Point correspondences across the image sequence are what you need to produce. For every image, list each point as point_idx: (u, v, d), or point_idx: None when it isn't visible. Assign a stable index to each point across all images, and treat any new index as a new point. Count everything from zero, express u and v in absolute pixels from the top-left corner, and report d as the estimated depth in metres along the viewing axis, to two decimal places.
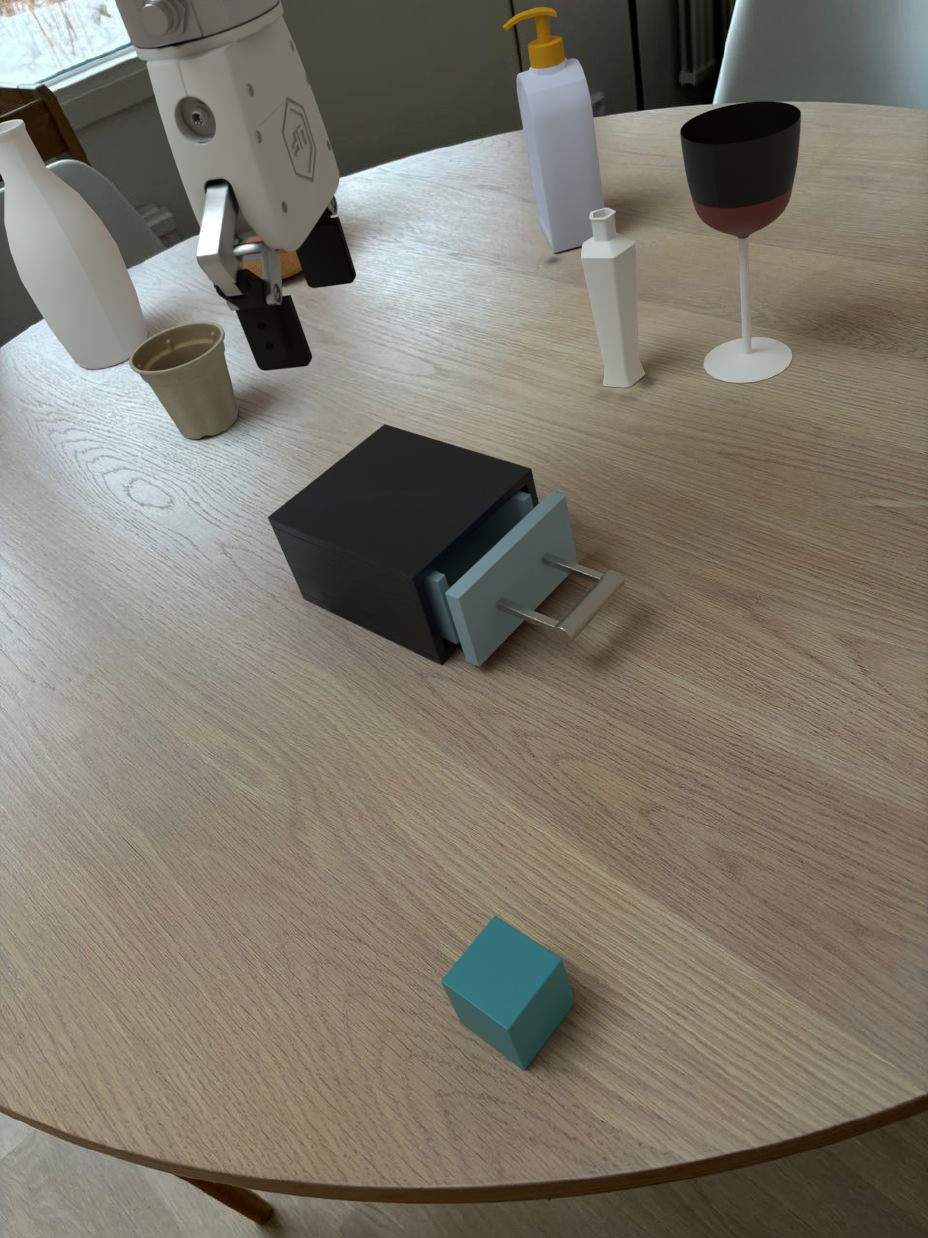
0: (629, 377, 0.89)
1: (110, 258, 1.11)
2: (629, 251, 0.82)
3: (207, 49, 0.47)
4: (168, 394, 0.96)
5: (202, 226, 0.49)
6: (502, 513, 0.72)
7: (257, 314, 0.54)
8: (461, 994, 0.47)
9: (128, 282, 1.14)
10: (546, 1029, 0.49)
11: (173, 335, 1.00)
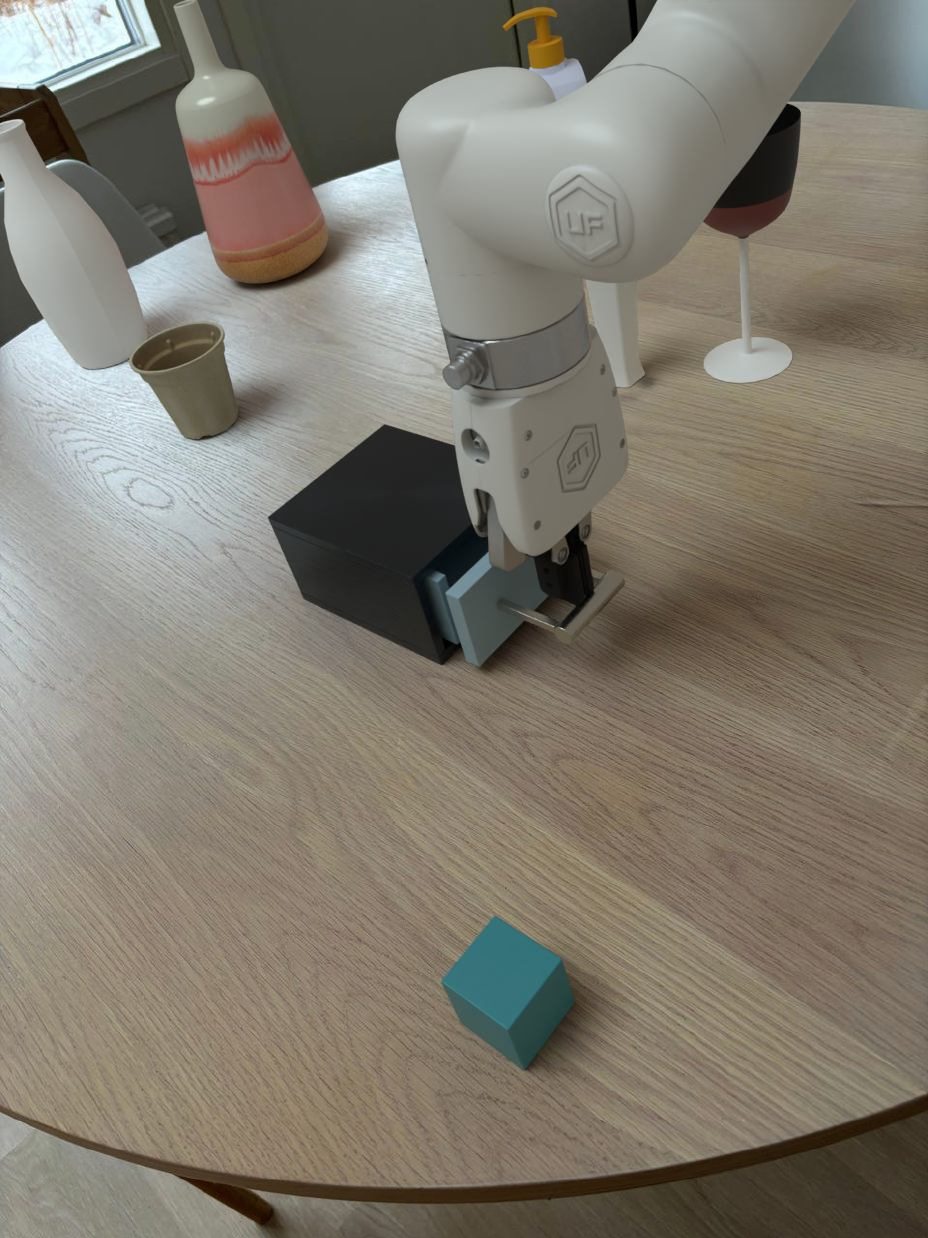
0: (629, 377, 0.89)
1: (110, 258, 1.11)
2: None
3: (498, 398, 0.52)
4: (168, 394, 0.96)
5: (489, 538, 0.58)
6: None
7: (544, 562, 0.62)
8: (461, 994, 0.47)
9: (128, 282, 1.14)
10: (546, 1029, 0.49)
11: (173, 335, 1.00)
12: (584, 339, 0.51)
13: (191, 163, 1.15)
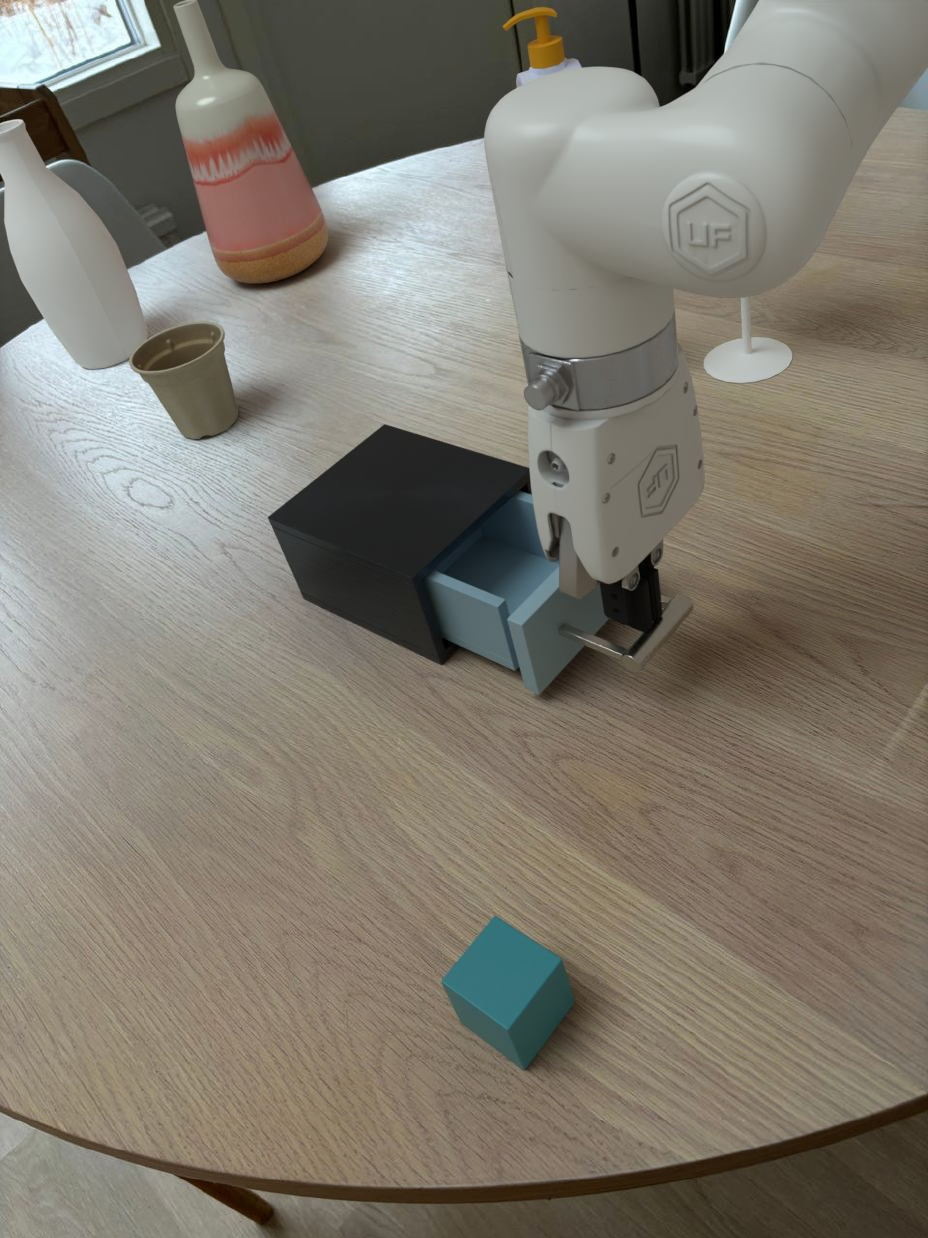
0: None
1: (110, 258, 1.11)
2: None
3: (581, 419, 0.48)
4: (168, 394, 0.96)
5: (560, 564, 0.55)
6: None
7: (612, 587, 0.59)
8: (461, 994, 0.47)
9: (128, 282, 1.14)
10: (546, 1029, 0.49)
11: (173, 335, 1.00)
12: (673, 357, 0.48)
13: (191, 163, 1.15)
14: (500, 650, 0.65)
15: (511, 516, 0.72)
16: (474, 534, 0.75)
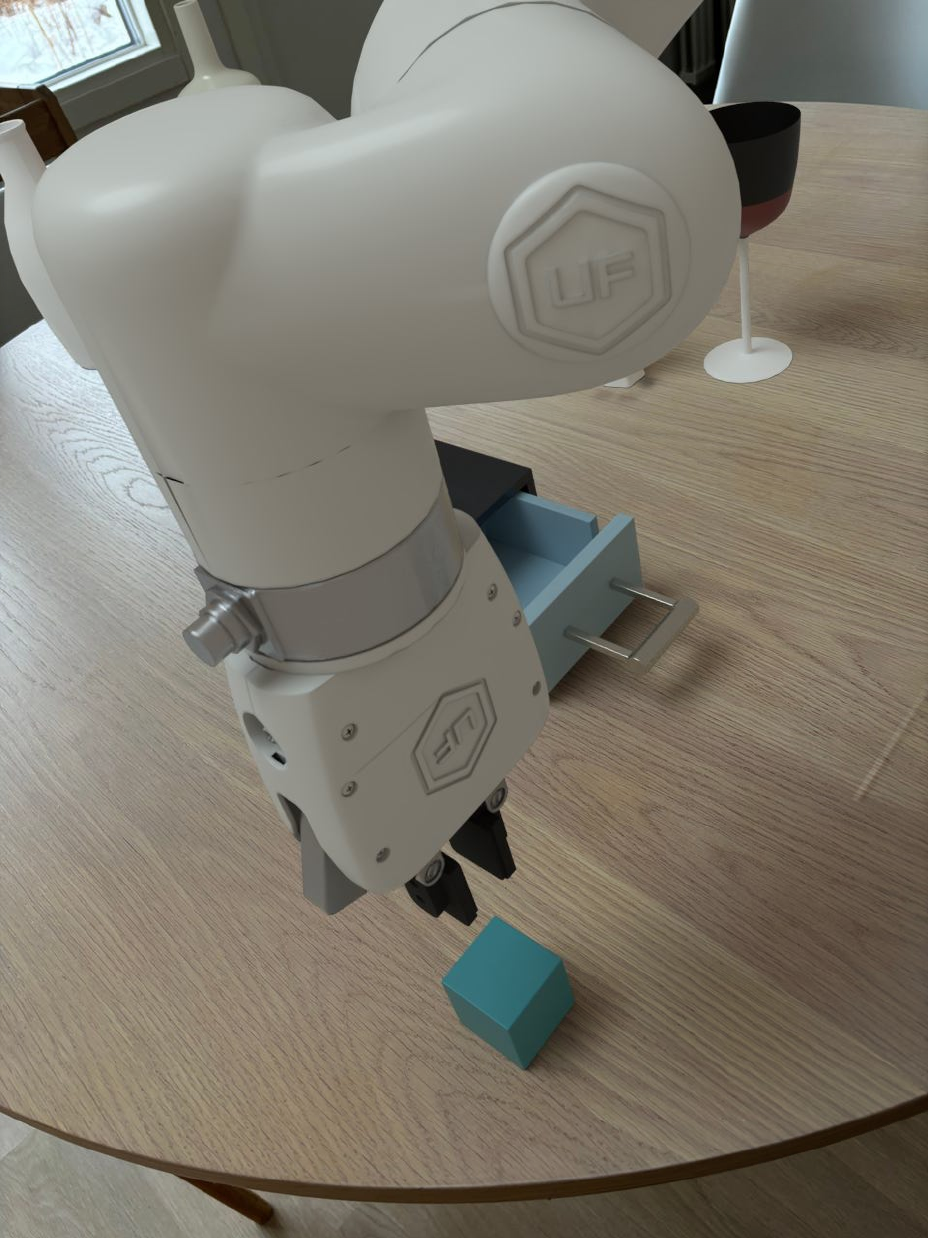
0: (629, 377, 0.89)
1: None
2: None
3: (292, 673, 0.29)
4: None
5: (303, 861, 0.35)
6: (564, 534, 0.69)
7: None
8: (461, 994, 0.47)
9: None
10: (546, 1029, 0.49)
11: None
12: (444, 569, 0.29)
13: None
14: None
15: (516, 518, 0.71)
16: None
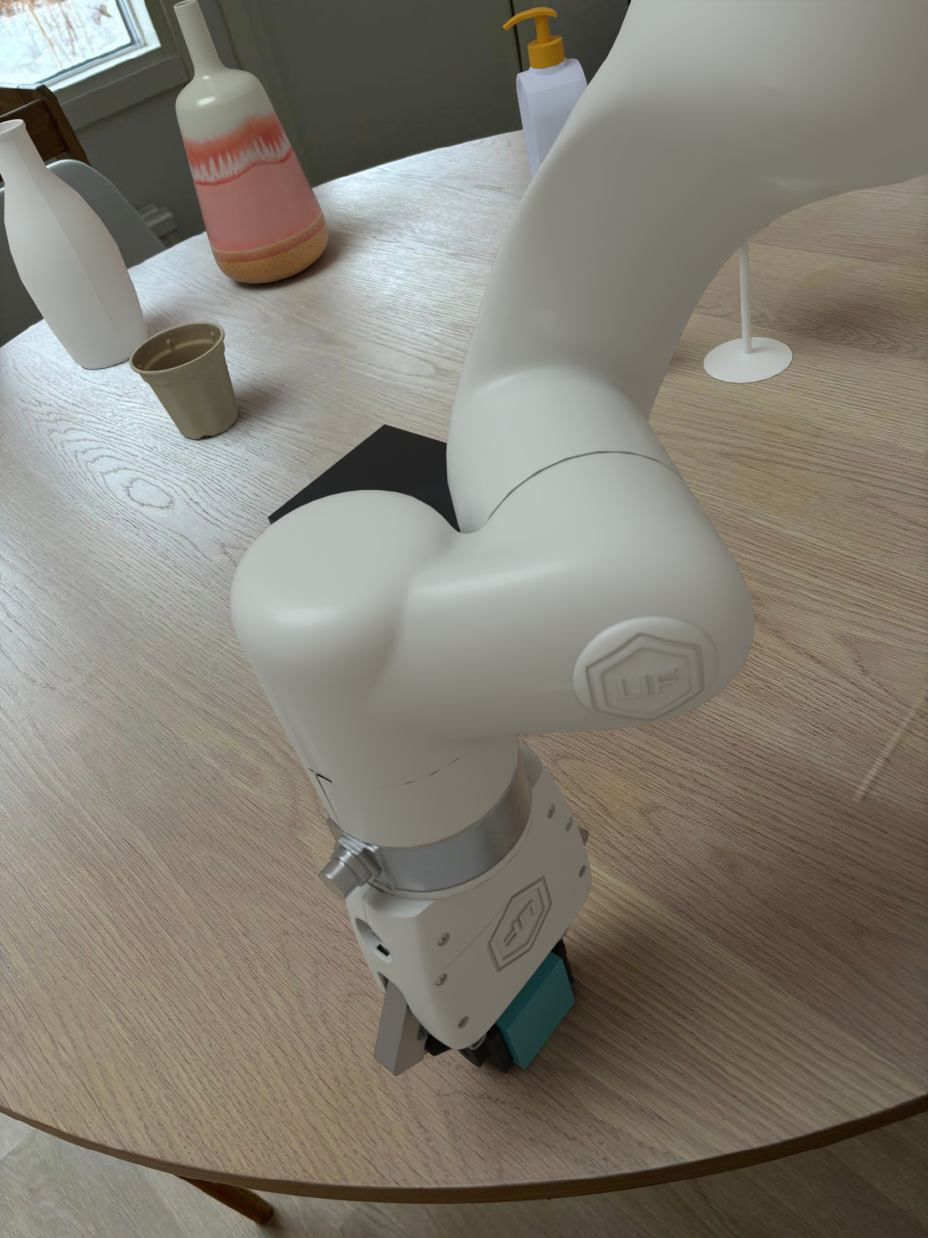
0: None
1: (110, 258, 1.11)
2: None
3: (400, 897, 0.37)
4: (168, 394, 0.96)
5: (381, 1026, 0.42)
6: None
7: None
8: None
9: (128, 282, 1.14)
10: (546, 1029, 0.49)
11: (173, 335, 1.00)
12: (519, 816, 0.37)
13: (191, 163, 1.15)
14: None
15: None
16: None
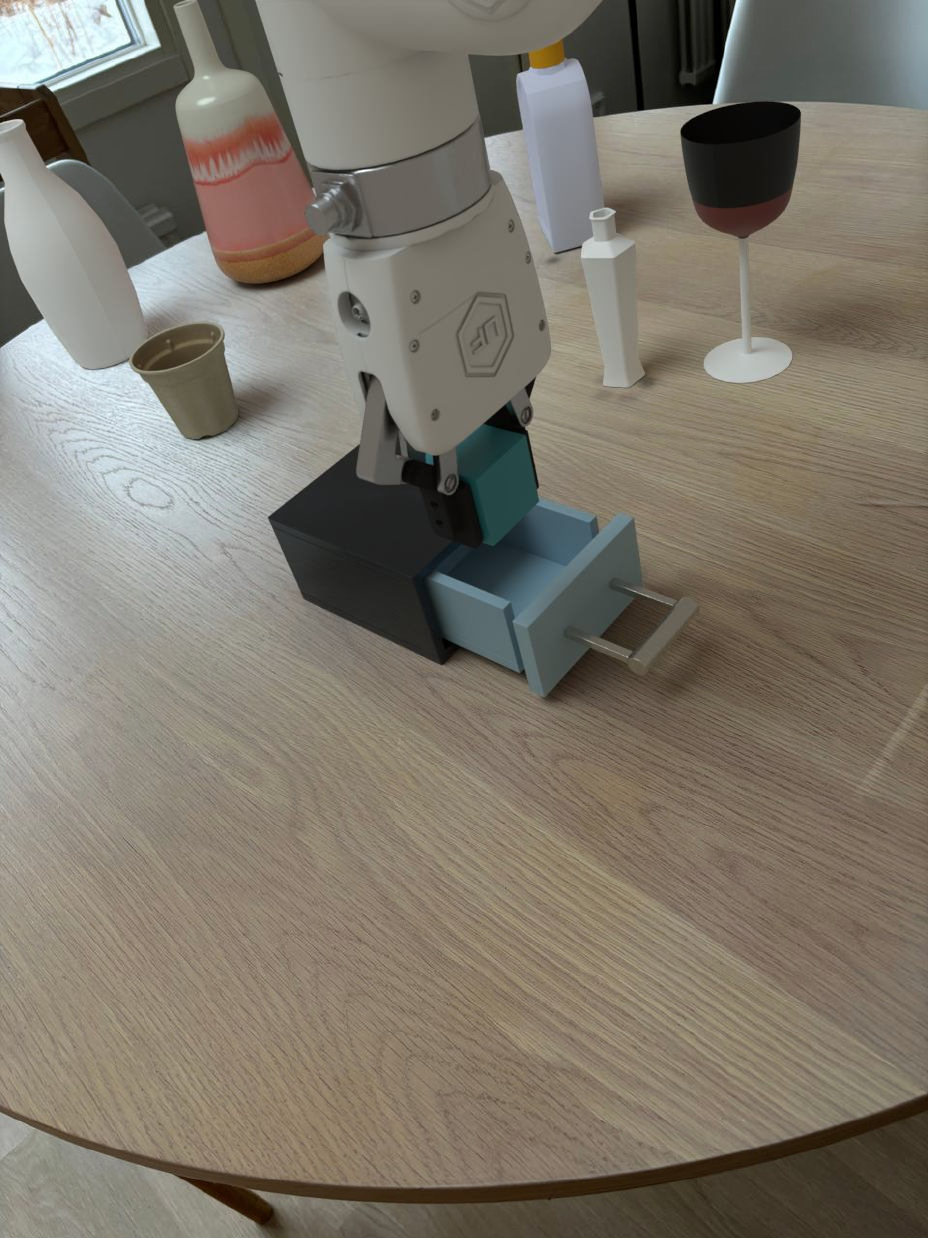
0: (629, 377, 0.89)
1: (110, 258, 1.11)
2: (629, 251, 0.82)
3: (377, 249, 0.42)
4: (168, 394, 0.96)
5: (362, 438, 0.47)
6: (564, 534, 0.69)
7: (430, 494, 0.52)
8: None
9: (128, 282, 1.14)
10: (512, 511, 0.54)
11: (173, 335, 1.00)
12: (481, 175, 0.42)
13: (191, 163, 1.15)
14: (505, 652, 0.65)
15: None
16: None
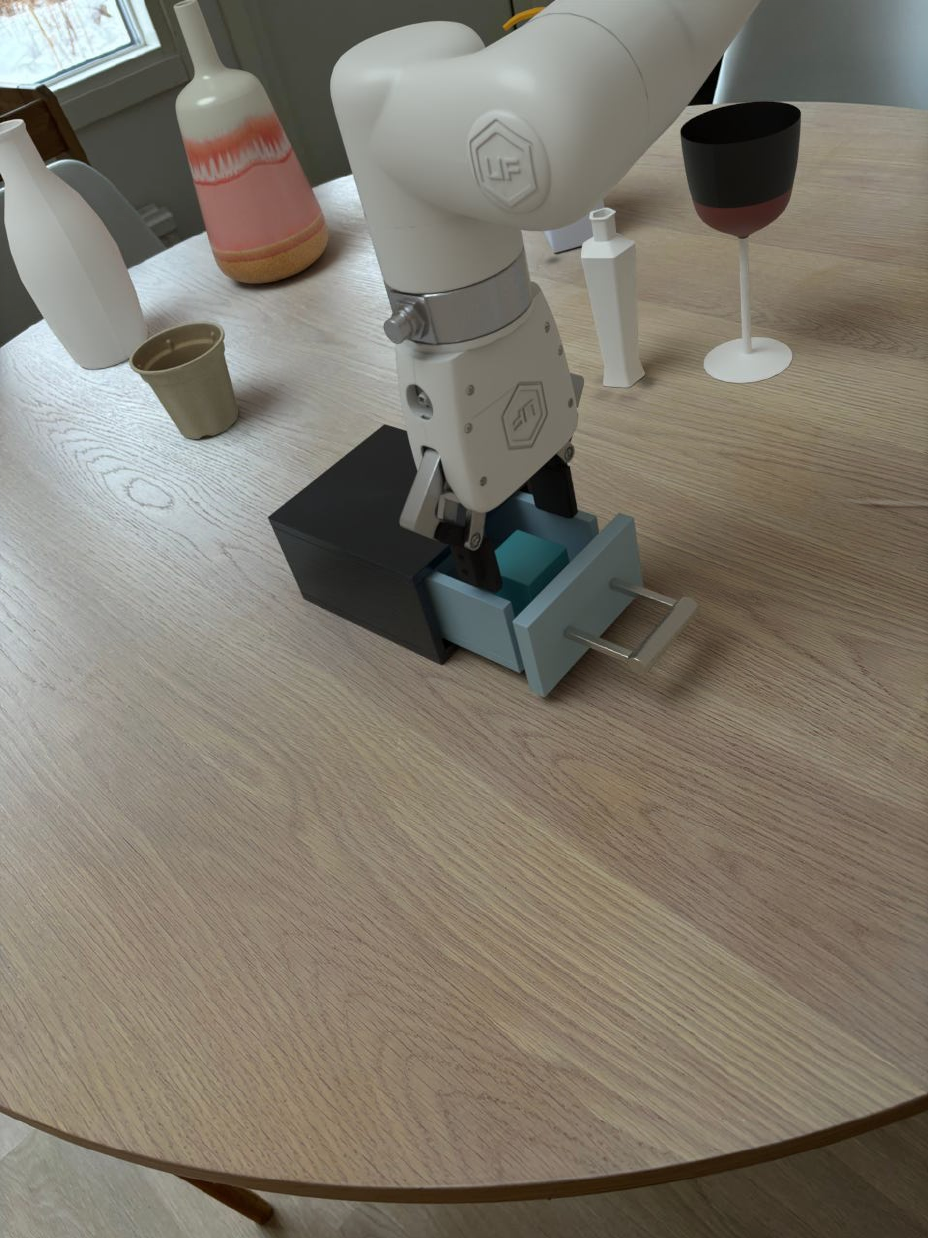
0: (629, 377, 0.89)
1: (110, 258, 1.11)
2: (629, 251, 0.82)
3: (440, 353, 0.52)
4: (168, 394, 0.96)
5: (411, 492, 0.57)
6: (564, 534, 0.69)
7: (458, 548, 0.61)
8: None
9: (128, 282, 1.14)
10: None
11: (173, 335, 1.00)
12: (524, 294, 0.52)
13: (191, 163, 1.15)
14: (505, 652, 0.65)
15: (516, 518, 0.71)
16: None
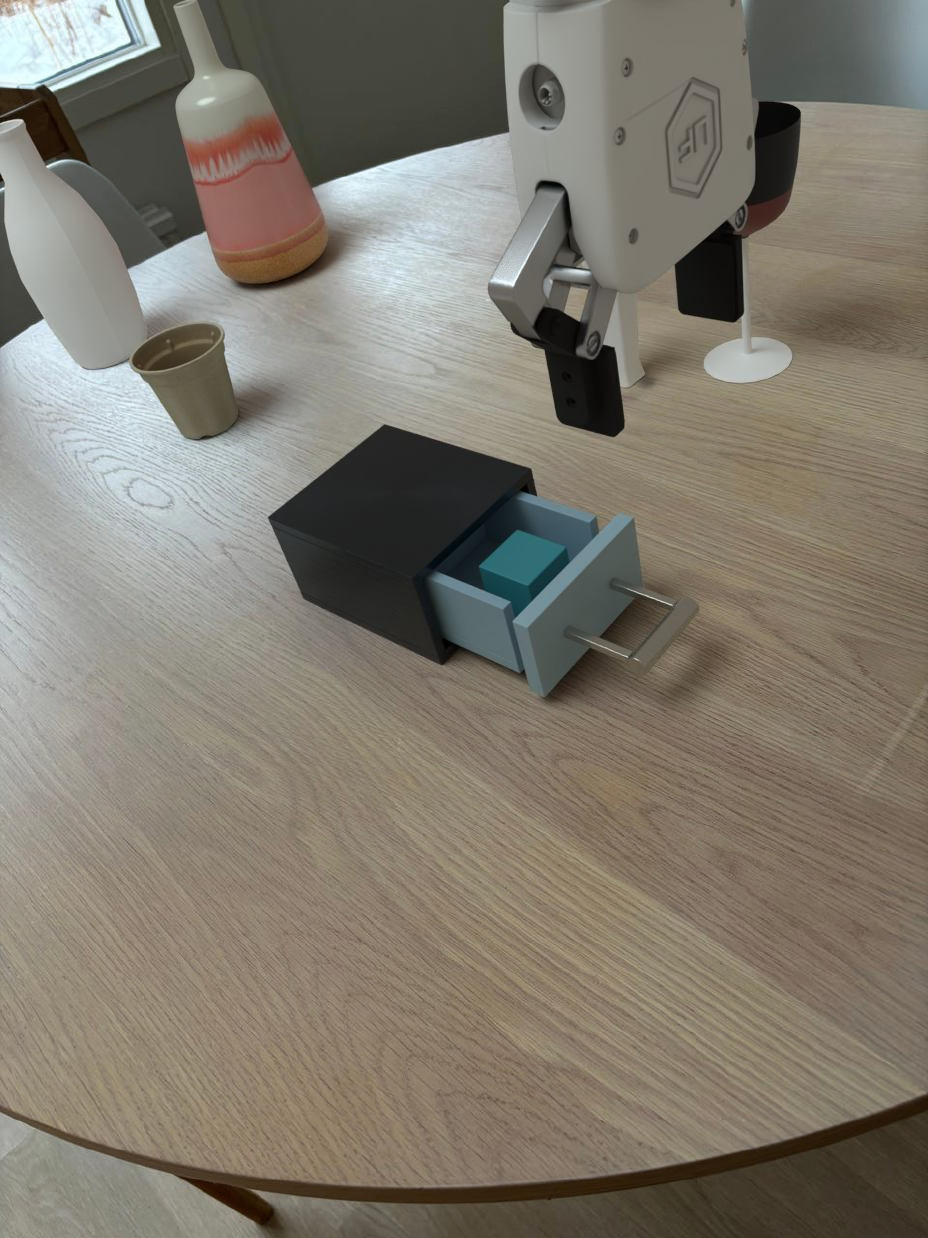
0: (629, 377, 0.89)
1: (110, 258, 1.11)
2: None
3: (582, 0, 0.32)
4: (168, 394, 0.96)
5: (511, 243, 0.36)
6: (564, 534, 0.69)
7: (564, 362, 0.40)
8: (493, 571, 0.66)
9: (128, 282, 1.14)
10: None
11: (173, 335, 1.00)
12: None
13: (191, 163, 1.15)
14: (505, 652, 0.65)
15: (516, 518, 0.71)
16: (478, 536, 0.75)
